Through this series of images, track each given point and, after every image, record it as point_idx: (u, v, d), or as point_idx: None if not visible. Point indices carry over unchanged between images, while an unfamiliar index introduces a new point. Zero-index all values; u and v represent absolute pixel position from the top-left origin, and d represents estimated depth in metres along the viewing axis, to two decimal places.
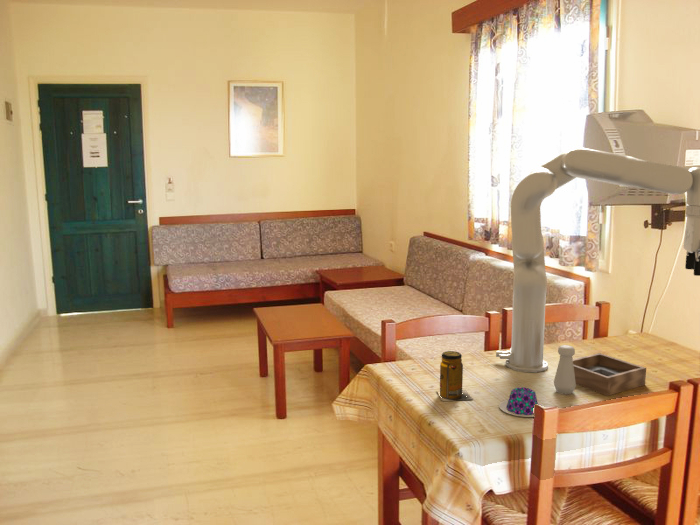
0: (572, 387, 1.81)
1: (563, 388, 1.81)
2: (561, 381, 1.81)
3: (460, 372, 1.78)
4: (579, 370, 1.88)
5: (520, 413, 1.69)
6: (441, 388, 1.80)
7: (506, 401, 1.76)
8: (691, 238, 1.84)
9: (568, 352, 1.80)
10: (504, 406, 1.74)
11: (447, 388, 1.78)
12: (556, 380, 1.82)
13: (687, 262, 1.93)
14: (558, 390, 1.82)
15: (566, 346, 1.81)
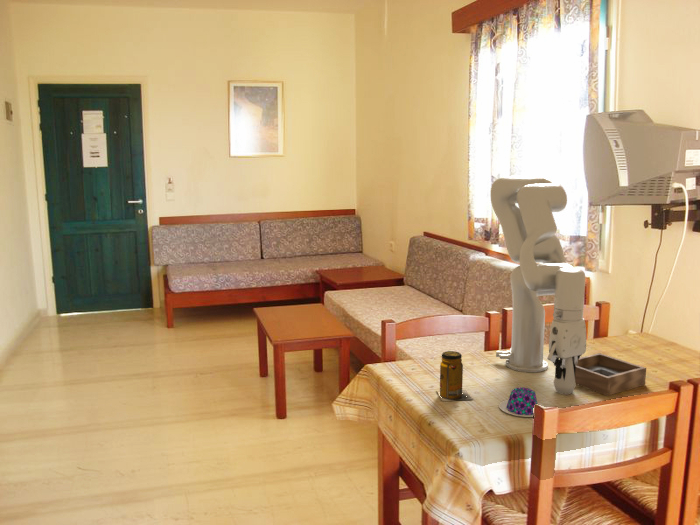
0: (572, 387, 1.81)
1: (563, 388, 1.81)
2: (561, 381, 1.81)
3: (460, 372, 1.78)
4: (579, 370, 1.88)
5: (521, 413, 1.68)
6: (441, 388, 1.80)
7: (505, 402, 1.76)
8: (584, 339, 1.81)
9: None
10: (504, 407, 1.73)
11: (447, 388, 1.78)
12: (556, 380, 1.82)
13: None
14: (558, 390, 1.82)
15: None
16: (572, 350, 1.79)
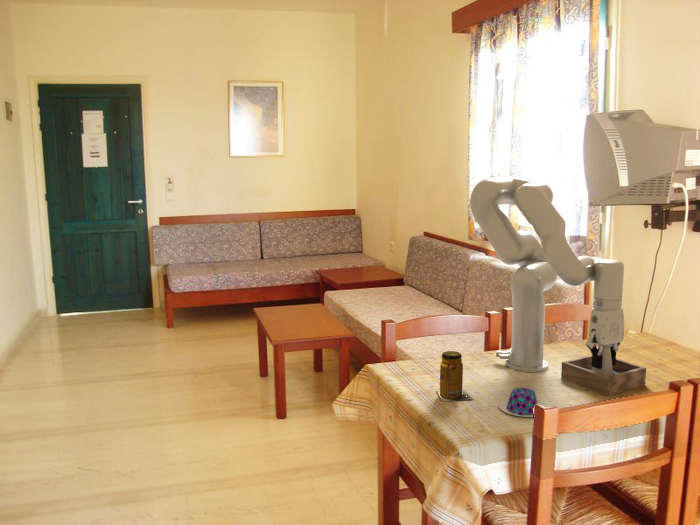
0: None
1: None
2: (599, 371, 1.89)
3: (460, 372, 1.78)
4: (579, 370, 1.88)
5: (523, 413, 1.68)
6: (441, 388, 1.80)
7: (504, 402, 1.76)
8: (622, 328, 1.88)
9: None
10: (504, 407, 1.73)
11: (447, 388, 1.78)
12: (594, 370, 1.90)
13: None
14: None
15: None
16: (611, 338, 1.86)
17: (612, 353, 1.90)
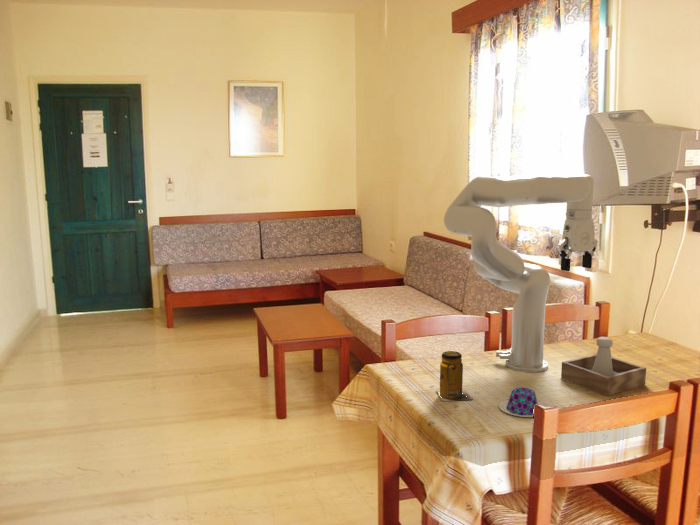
0: None
1: None
2: (599, 371, 1.89)
3: (460, 372, 1.78)
4: (579, 370, 1.88)
5: (524, 414, 1.68)
6: (441, 388, 1.80)
7: (503, 403, 1.75)
8: (593, 237, 2.08)
9: (607, 343, 1.87)
10: (504, 408, 1.72)
11: (447, 388, 1.78)
12: (594, 370, 1.90)
13: None
14: None
15: (604, 338, 1.89)
16: (582, 245, 2.06)
17: (588, 257, 2.11)
